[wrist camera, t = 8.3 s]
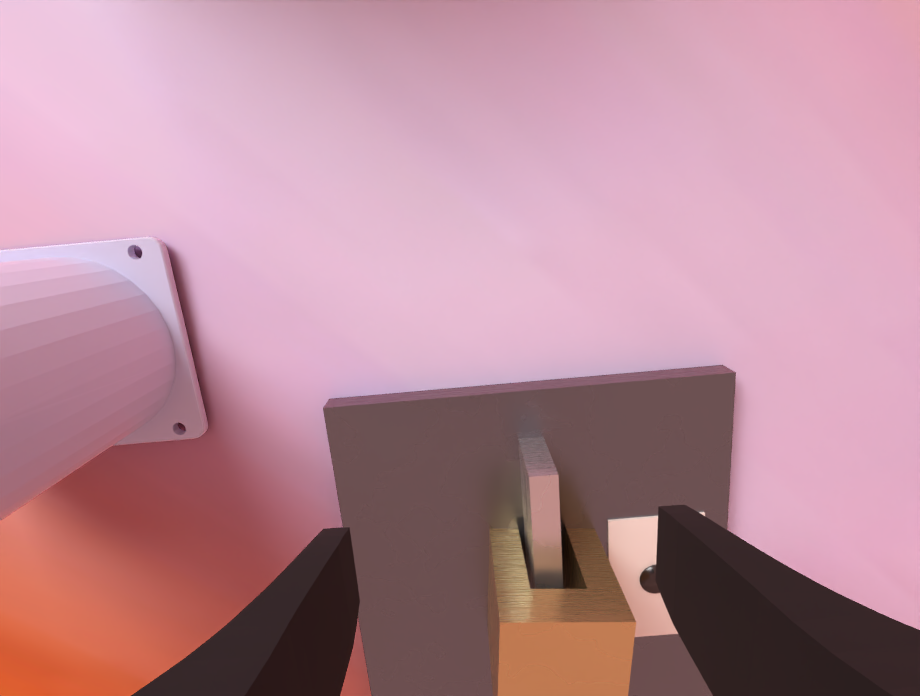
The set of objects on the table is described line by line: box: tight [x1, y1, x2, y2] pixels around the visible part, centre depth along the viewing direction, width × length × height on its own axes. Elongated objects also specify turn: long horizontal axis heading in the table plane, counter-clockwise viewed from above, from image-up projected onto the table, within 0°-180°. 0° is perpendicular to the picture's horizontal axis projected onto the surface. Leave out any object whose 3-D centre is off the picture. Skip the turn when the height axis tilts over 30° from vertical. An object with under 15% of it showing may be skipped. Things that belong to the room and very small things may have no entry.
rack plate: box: [323, 365, 736, 696], centre depth 21 cm, size 16×20×4 cm
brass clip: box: [488, 528, 636, 696], centre depth 19 cm, size 4×5×5 cm
